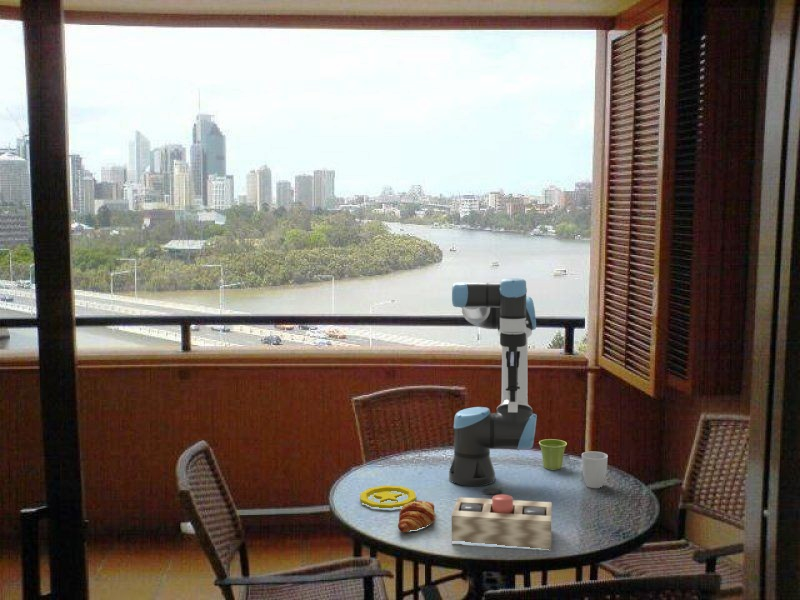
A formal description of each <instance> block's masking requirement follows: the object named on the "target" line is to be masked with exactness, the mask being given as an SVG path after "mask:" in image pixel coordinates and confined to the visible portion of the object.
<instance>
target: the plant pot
mask: <svg viewBox="0 0 800 600" xmlns="http://www.w3.org/2000/svg"><path fill="white" fill-rule="evenodd" d="M538 444H539V447H540V449H541V456H542V465H543V468H544V469H547V470H550V471H551V470H553V471H557V470H560V469H562V468H563V461H564V455H565V450H566V448H567V447H566V446H567V445H568V443H567V442H566V441H564V440H561V439H552V438H548V439H542V440H539V442H538Z"/></svg>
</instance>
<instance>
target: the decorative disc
mask: <svg viewBox="0 0 800 600" xmlns="http://www.w3.org/2000/svg"><path fill="white" fill-rule="evenodd" d="M391 491H397V492H401V493H404V494H403V495H406V494H407V495H408V499H406V500H404V501H401V502H398V500H397V499H396V498H397V497H399V496H402V494H397V493H395V494H390V493H394V492H391ZM389 492H390V493H389ZM374 493H377V494H374ZM381 493H382V494H381ZM370 495H374V496H372V497H375V498H376V499H381V500H380V503H377V502H374V501H371V500H369V499H368V497H370ZM371 499H374V498H371ZM387 500H391V501H397V502H395V503H381V502H384V501H387ZM414 501H417V496H416V492H415V490H413V489H410V488H408V487H405V486H400V485H398V486H397V485H380V486H374V487H369V488H368V489H366V490H364V491H362V492H360V503H361V502H362V503H364V504H367V505H369V506H371V507H379V508H393V507H400V506H404V505H405V504H408V503H410V502H414Z"/></svg>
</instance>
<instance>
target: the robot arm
mask: <svg viewBox="0 0 800 600" xmlns="http://www.w3.org/2000/svg"><path fill="white" fill-rule="evenodd" d="M527 293H528V289H527V281H526V279H524V278H517V277H516V278H512V277H510V278H503V279H501V281H500V282H465V281H462V282H454V283H453V284H452V288H451V301H452V302H451V303H452V305H453V307H454V308H461V314H462V316H463V318H464V319H465V320H466V322H468V323H469V324H471V325H473V326H476V327H478V328H481V329H487V330H497V335H498V336H499V344H500V346H501V402H500V404H499V405H498V406H497V407H496V412H491V410H490V408H488V407H486V406H485V407H483V406H474V407H469V408H463V409H462V410H458V411H457V412H456V413H455V415H454V419H453V420H454V421H453V430H454V431H453V432H454V433H453V435H454V436H453V437H454V439H453V440H454V441H453V447H454V449H453V450H454V451H453V452H454V455H453V459H452V461H451V466H450V468H449V471H448V479H450V480H451V481H453V482H455V483H458V484H457V485H459V484H461V485H460V486H464V485H466V486H465V487H480V486H481V485H482V486H487V485H490V484H492V483H494V482H495V480H496V471H495V468H494V465H493V463H492V459H491V455H490V453H491V452H490V450H516V451H520V450H521V451H522V450H531V449H532V448H533V447H534V441H535V434H536V427H537V417H538V416H537V413H534V412H533V408H532V407H531V405H529V402H528V401H529V400H528V397H529V396H528V393H529V392H528V391H529V390H528V385H529V384H528V383H529V382H528V380H529V379H528V377H529V376H528V365H529V364H528V362H529V361H528V352H529V351H528V339H529V337H531V336H532V334H533V331H534V330H536V328H537V320H536V310H535V305H534V301H533V298H532V297H531V296H527ZM450 480H449V481H450ZM451 481H450V482H451ZM453 482H452V483H453ZM455 483H454V484H455ZM486 484H487V485H486ZM482 486H481V487H482Z"/></svg>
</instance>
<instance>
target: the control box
mask: <svg viewBox="0 0 800 600" xmlns="http://www.w3.org/2000/svg"><path fill="white" fill-rule="evenodd" d="M455 501H456V502H455V504H454V507H453V510H452V513H451V542H452V541H465V542H471V543H485V544H497V545H505V546H517V547H530V548H541V549H549V550H551V551H552V503H553V502H551V501H539V500H538V501H533V500H520V499H519V500H517V499H516V500H514V499H513V514H507V513H492V498H479V497H461V496H460V497H459V496H458V497H457V499H456V500H455ZM469 503H472V504H478V505H480V506H481V512H473V511H461V506H462V505H464V504H469ZM528 507H539V508H542V509H544V510H545V516H542V515H525V514H524V509H525V508H528Z"/></svg>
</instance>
